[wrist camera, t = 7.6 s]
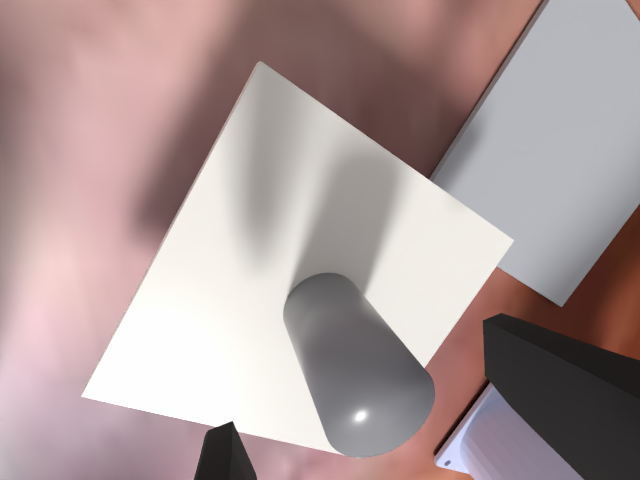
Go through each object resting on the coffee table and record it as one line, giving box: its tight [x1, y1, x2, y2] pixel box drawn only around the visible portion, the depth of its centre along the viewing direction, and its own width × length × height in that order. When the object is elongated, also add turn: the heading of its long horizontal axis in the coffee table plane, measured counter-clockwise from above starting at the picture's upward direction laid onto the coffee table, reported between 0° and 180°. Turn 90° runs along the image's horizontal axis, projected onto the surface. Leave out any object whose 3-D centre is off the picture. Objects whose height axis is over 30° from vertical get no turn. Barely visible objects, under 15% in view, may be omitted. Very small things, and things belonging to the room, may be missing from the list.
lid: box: [81, 61, 514, 459], centre depth 12 cm, size 12×12×6 cm
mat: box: [429, 0, 640, 307], centre depth 21 cm, size 14×14×1 cm
